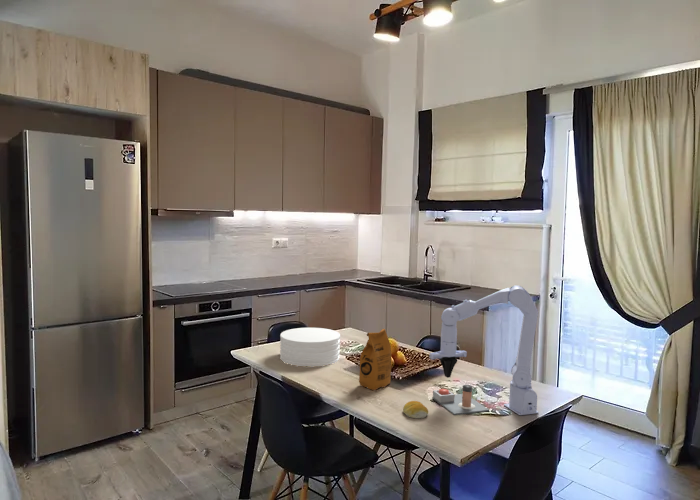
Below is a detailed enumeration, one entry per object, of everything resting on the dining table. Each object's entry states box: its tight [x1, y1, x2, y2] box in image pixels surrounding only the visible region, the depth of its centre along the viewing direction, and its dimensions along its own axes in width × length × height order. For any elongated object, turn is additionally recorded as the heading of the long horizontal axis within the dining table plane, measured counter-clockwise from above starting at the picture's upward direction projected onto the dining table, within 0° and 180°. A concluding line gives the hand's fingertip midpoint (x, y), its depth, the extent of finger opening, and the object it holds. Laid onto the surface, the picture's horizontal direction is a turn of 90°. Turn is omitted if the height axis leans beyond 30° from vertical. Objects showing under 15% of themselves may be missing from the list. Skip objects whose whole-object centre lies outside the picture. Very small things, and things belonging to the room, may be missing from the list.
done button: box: [438, 388, 450, 395], centre depth 182 cm, size 4×4×3 cm
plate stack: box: [279, 327, 341, 368], centre depth 231 cm, size 28×28×12 cm
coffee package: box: [358, 328, 392, 391], centre depth 197 cm, size 10×12×22 cm
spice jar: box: [461, 384, 473, 407], centre depth 176 cm, size 3×3×7 cm
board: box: [431, 389, 490, 416], centre depth 179 cm, size 16×14×3 cm
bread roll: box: [402, 400, 429, 419], centre depth 170 cm, size 8×9×4 cm
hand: (447, 376), depth 183 cm, fingers closed
